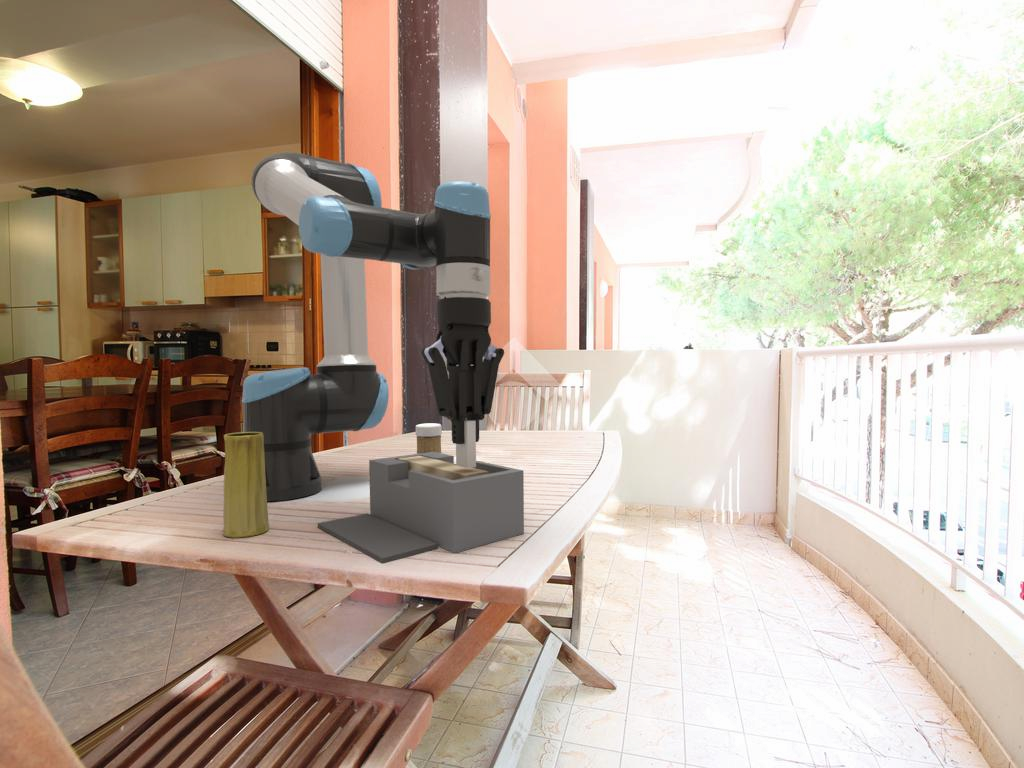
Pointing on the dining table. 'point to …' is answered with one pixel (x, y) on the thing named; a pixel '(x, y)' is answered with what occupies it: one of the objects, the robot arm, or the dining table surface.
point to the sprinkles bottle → (428, 437)
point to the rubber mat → (377, 537)
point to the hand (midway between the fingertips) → (466, 466)
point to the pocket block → (448, 502)
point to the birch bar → (440, 468)
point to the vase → (245, 485)
